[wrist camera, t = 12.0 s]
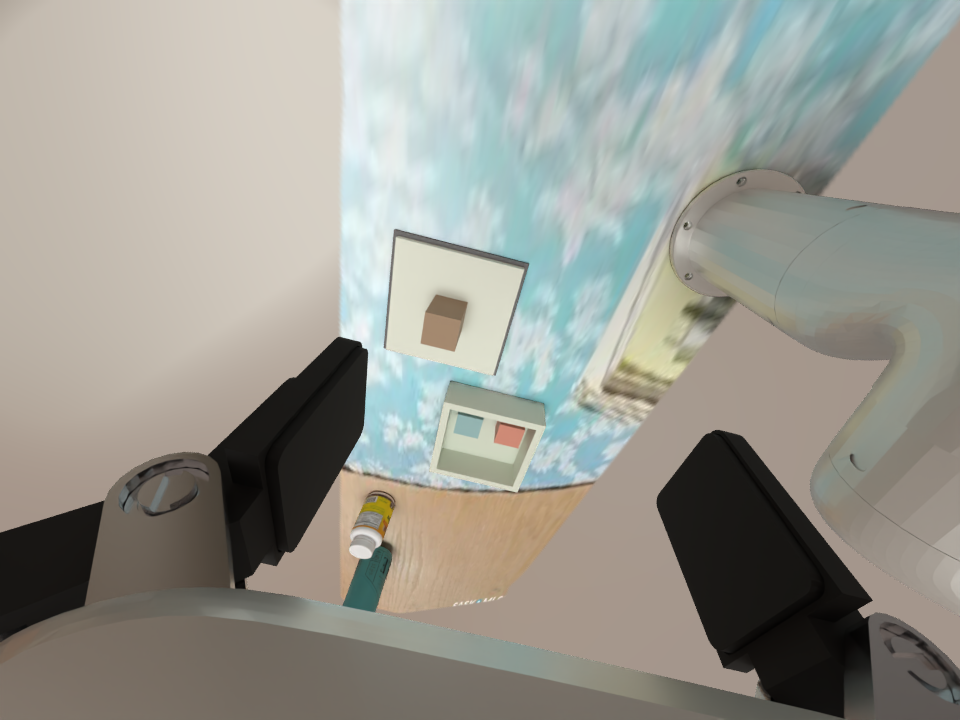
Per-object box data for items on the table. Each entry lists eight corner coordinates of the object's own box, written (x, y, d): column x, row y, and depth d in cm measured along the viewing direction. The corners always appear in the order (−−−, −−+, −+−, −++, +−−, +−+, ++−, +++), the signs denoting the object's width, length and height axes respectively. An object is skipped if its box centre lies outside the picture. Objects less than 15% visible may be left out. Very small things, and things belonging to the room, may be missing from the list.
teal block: (485, 404, 51) (483, 420, 47) (480, 422, 52) (477, 438, 49) (461, 398, 50) (457, 414, 47) (457, 416, 52) (453, 433, 49)
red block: (524, 413, 51) (525, 430, 48) (518, 431, 53) (518, 448, 49) (501, 408, 51) (500, 424, 48) (495, 425, 52) (493, 442, 49)
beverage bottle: (359, 542, 74) (311, 658, 57) (382, 534, 71) (338, 653, 54) (379, 558, 76) (339, 674, 59) (402, 551, 74) (366, 670, 57)
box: (543, 403, 50) (545, 426, 46) (517, 467, 57) (517, 492, 53) (450, 380, 50) (444, 401, 45) (435, 447, 57) (429, 471, 53)
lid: (524, 267, 40) (524, 285, 34) (493, 371, 48) (490, 400, 42) (398, 235, 40) (378, 248, 34) (388, 346, 47) (370, 371, 42)
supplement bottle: (390, 512, 67) (370, 565, 59) (363, 501, 66) (339, 554, 58) (400, 497, 65) (381, 550, 56) (372, 486, 64) (349, 538, 55)
